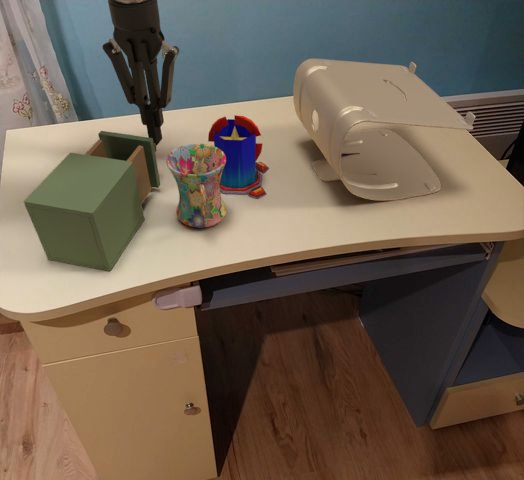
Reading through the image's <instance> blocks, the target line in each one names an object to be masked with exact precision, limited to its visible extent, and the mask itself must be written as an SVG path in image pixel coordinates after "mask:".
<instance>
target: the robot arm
mask: <svg viewBox="0 0 524 480" xmlns="http://www.w3.org/2000/svg"><path fill="white" fill-rule="evenodd" d="M107 4H108V8H109V9H108V10H109V13H110V19H111V24H112V25H113V33H112V37H113V38H109V40H107V41H106V42H105V43H103V45H102V50H103V52H104V53H105V54H106V56H107V57H108V59H109V60H110V62H111V64H112V67H113V69H114V72H115V74H116V77H117V79H118V81H119V84H120V87H121V89H122V92H123V94H124V96H125V98H126V101H127V103H128V104H129V105H135V106H136V107H137V108H138V109H139V115H140V121H141V124H142V125H143V126H145V127H146V131H147V137H148V138H153V143H156V146H158V145H159V144H160V143H161V141H162V140H163V134H162V126H163V125H164V123H165V119H164V114H163V109H165V108H167V106H169V104H171V102H172V96H173V95H172V93H173V83H174V72H175V62H176V59H177V57H178V55H179V53H180V49H179V47H178V46H177V45H171V44H170V43H168V42H167V41H166V40H165V39H166V38H165V35H164V33H163V31H162V29H161V19H160V11H159V3H158V0H107ZM160 52H162V53H161V58H162V59H163V62H162V67H161V68H162V69H161V83H160V79H159V72H158V56H159V54H160ZM124 55H125V56H126V59H125V56H124ZM126 60H127V61H126Z"/></svg>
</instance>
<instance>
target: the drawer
mask: <svg viewBox="0 0 524 480" xmlns="http://www.w3.org/2000/svg"><path fill="white" fill-rule="evenodd" d="M97 135H98V140H97V141H96V142H95V143H94V144H92V146H91V147H90V148H89V149H88V150H87V152H86V153H84V155H90V156H97V157H103V158H110V159H117V160H123V161H130V162H133V165H134V171H135V175H136V180H137V185H138V190H139V195H140V199H141V204H142V205H143V203H144V202H145V200H146V199H147V197H149V195H150V193H151V191H152V188H154V189H155V188H156V189H159V188H160V186H161V179H160V173H159V168H158V161H157V156H156V152H157V148H158V147H157V146H158V145H157V146H156V143H153V138H149V137H148V136H141V135H134V134H128V133H119V132H112V131H107V130H106V131H105V130H100V131H99V132H98V134H97Z"/></svg>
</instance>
